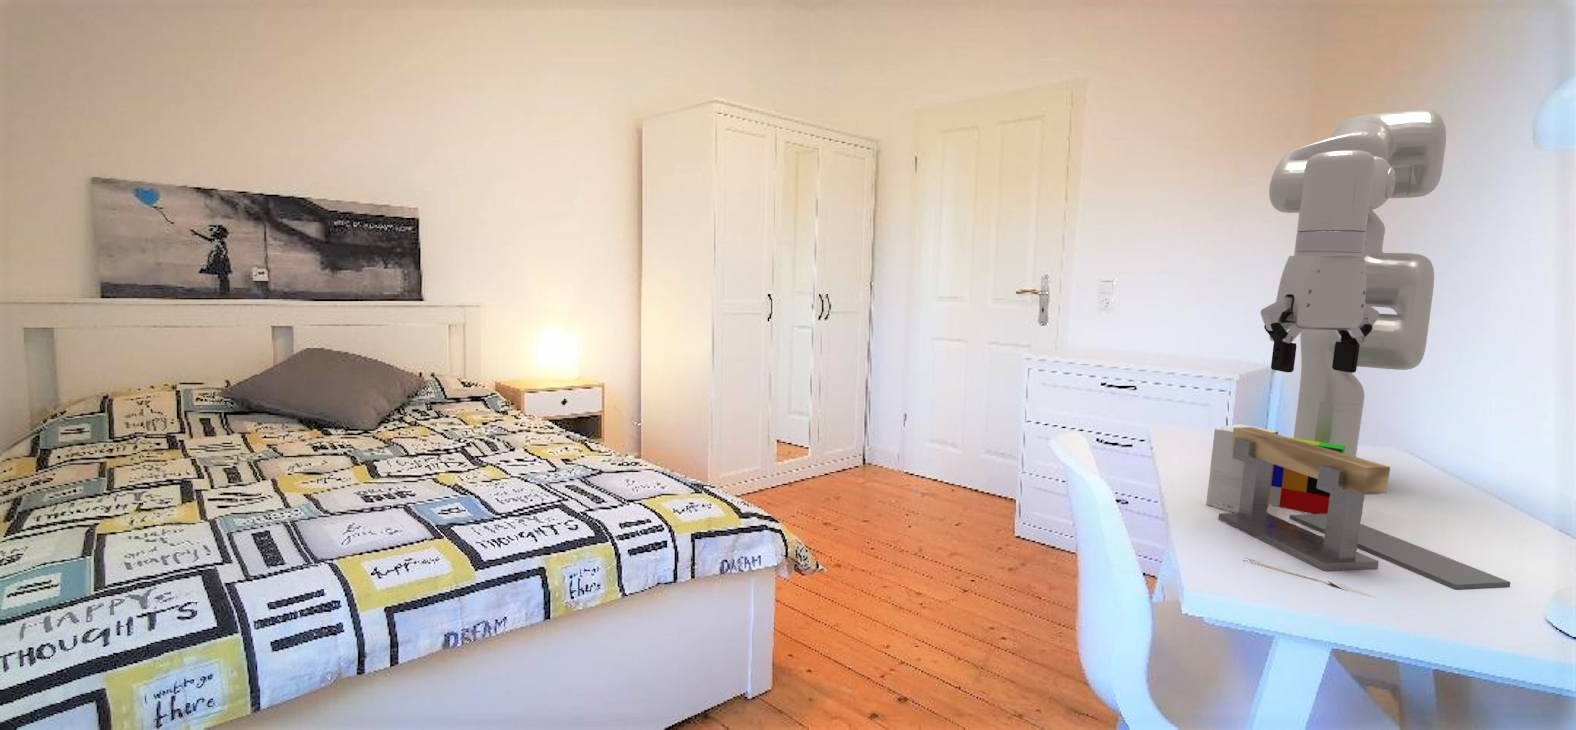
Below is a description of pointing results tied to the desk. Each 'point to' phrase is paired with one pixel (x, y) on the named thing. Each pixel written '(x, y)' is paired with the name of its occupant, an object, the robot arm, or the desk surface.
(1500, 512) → the desk surface
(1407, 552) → the mat
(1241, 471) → the small box
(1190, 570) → the desk surface
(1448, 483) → the desk surface
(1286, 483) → the puzzle toy
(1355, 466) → the rail
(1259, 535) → the rack
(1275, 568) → the silver long thin piece
